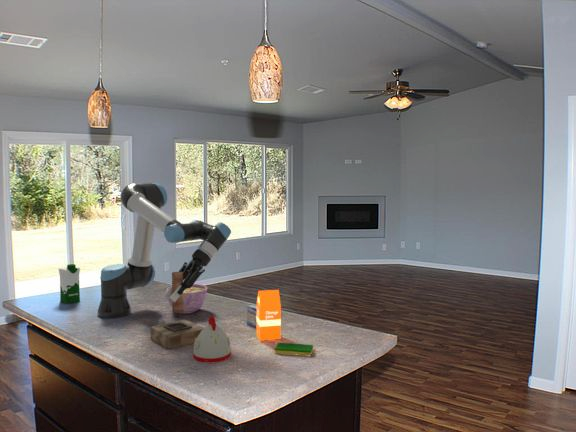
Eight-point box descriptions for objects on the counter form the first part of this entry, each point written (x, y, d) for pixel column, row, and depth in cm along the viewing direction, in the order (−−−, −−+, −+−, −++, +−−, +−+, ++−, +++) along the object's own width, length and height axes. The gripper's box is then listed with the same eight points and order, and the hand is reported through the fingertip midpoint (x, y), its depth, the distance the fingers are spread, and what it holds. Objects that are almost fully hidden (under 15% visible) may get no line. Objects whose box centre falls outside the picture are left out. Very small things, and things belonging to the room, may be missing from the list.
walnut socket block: (150, 338, 195) (150, 325, 194) (185, 330, 205) (185, 318, 205) (169, 349, 183) (169, 335, 182) (205, 340, 193) (205, 326, 193)
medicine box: (246, 324, 215) (246, 305, 214) (253, 322, 218) (253, 304, 217) (258, 328, 209) (258, 309, 209) (265, 326, 213) (265, 307, 212)
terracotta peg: (170, 311, 193) (169, 272, 192) (180, 309, 196) (179, 271, 195) (175, 313, 190) (175, 274, 189) (185, 311, 193) (185, 272, 192)
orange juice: (256, 335, 200) (256, 288, 199) (276, 333, 203) (276, 287, 201) (259, 341, 193) (260, 293, 191) (280, 339, 195) (281, 291, 193)
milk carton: (66, 304, 245) (65, 266, 243) (57, 301, 250) (56, 264, 249) (82, 301, 252) (81, 264, 251) (73, 298, 257) (72, 262, 256)
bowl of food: (204, 304, 248) (204, 282, 247) (210, 315, 229) (210, 291, 228) (165, 307, 241) (164, 285, 241) (168, 318, 223) (167, 294, 222)
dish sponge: (278, 348, 186) (278, 342, 186) (313, 350, 184) (313, 344, 184) (274, 354, 179) (274, 348, 179) (310, 357, 177) (310, 351, 177)
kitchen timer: (197, 365, 168) (197, 323, 167) (189, 351, 180) (189, 313, 179) (235, 359, 173) (235, 319, 172) (225, 347, 186) (225, 309, 185)
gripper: (221, 262, 195) (186, 308, 186) (198, 257, 208) (164, 300, 198) (210, 250, 191) (173, 297, 182) (188, 246, 204) (152, 289, 194)
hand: (169, 298), depth 190 cm, fingers closed on terracotta peg, 4 cm apart
